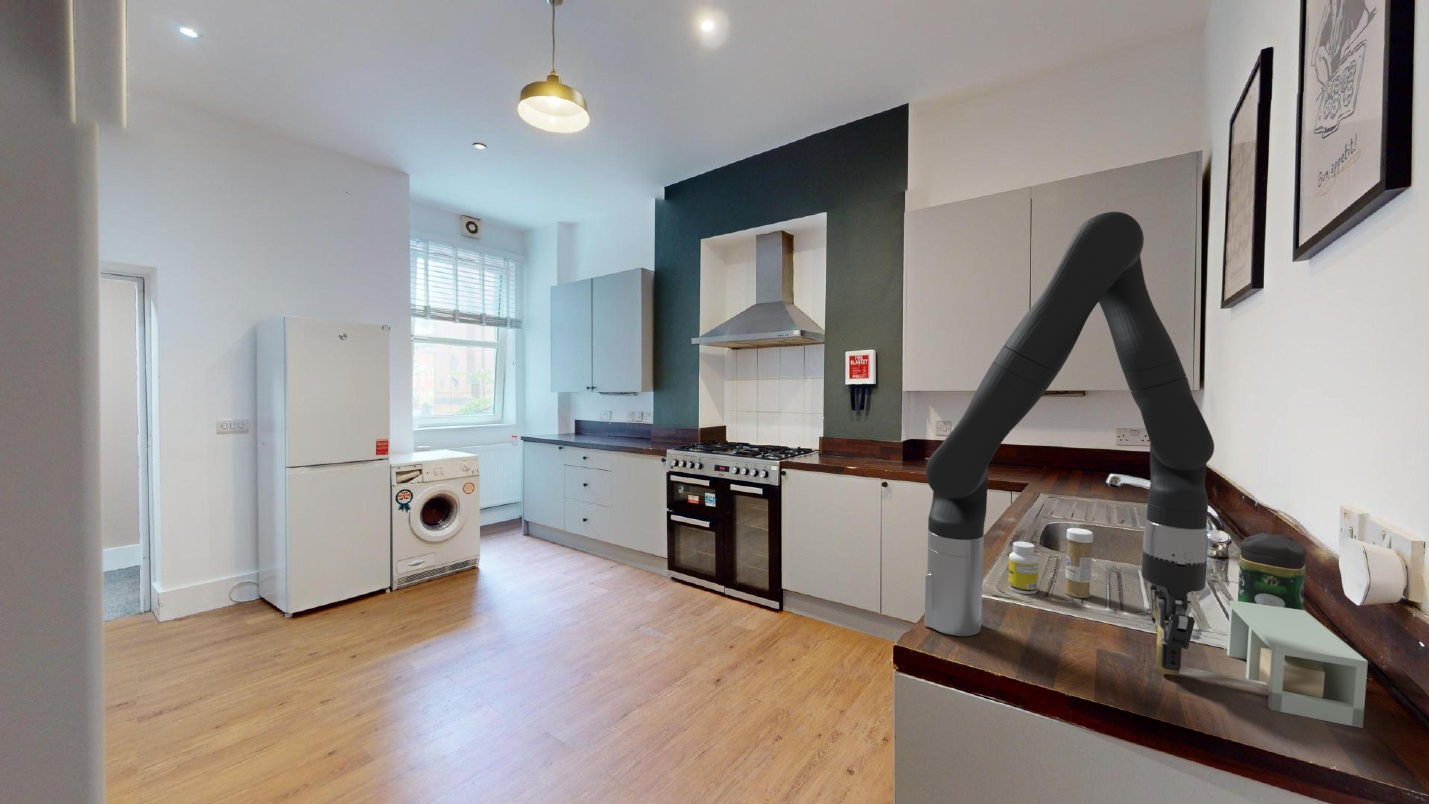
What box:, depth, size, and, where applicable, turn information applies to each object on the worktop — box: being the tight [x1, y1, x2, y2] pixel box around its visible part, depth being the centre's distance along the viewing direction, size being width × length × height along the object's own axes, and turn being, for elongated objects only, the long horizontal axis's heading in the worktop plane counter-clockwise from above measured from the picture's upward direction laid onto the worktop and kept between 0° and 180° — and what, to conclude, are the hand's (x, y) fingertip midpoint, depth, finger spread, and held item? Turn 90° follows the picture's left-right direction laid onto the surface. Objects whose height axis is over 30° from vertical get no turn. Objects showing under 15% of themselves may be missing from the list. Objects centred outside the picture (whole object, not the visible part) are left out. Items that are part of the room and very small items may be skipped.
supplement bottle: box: [1008, 541, 1039, 595], centre depth 120 cm, size 5×5×10 cm
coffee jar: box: [1237, 532, 1307, 610], centre depth 96 cm, size 10×8×19 cm
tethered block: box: [1155, 620, 1325, 699], centre depth 84 cm, size 18×5×8 cm, turn 64°
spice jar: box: [1063, 527, 1094, 599], centre depth 118 cm, size 5×5×14 cm
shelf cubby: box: [1226, 600, 1369, 729], centre depth 84 cm, size 9×17×9 cm, turn 154°
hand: (1167, 662), depth 87 cm, fingers closed on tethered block, 2 cm apart
